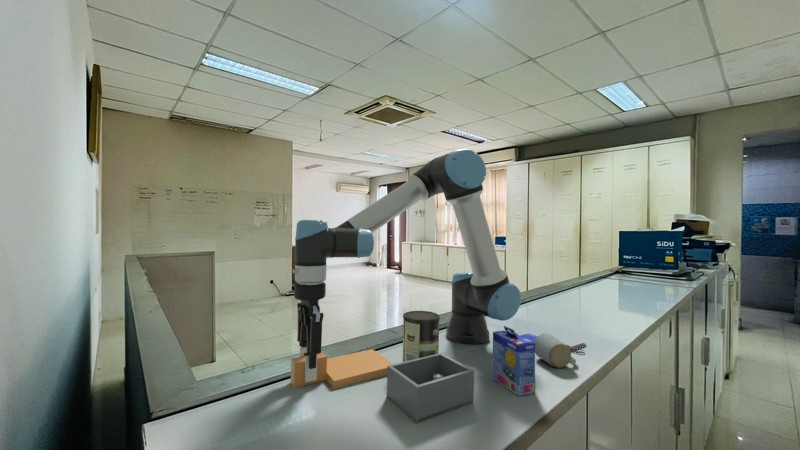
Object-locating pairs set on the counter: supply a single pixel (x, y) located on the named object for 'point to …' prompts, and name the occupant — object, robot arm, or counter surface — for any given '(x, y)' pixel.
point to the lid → (342, 368)
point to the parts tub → (429, 386)
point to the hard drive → (529, 337)
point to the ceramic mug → (553, 351)
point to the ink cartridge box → (514, 361)
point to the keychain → (576, 347)
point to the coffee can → (420, 334)
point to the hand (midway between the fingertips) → (307, 376)
